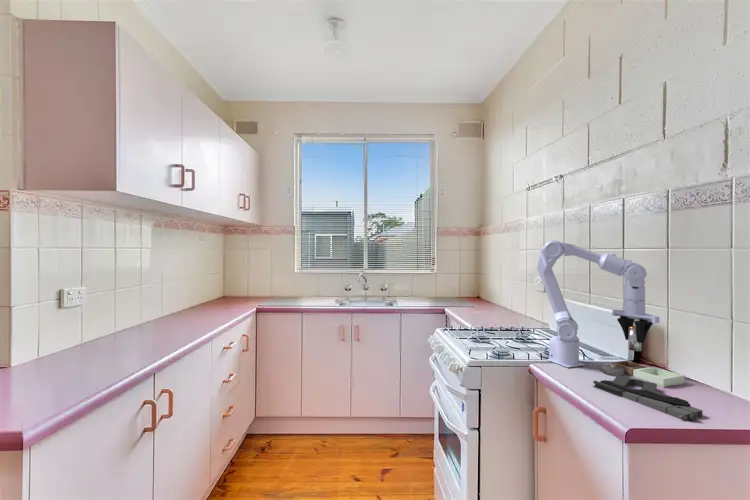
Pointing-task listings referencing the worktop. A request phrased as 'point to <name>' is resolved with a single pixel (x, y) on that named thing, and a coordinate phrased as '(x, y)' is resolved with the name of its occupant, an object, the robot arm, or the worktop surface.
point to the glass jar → (633, 339)
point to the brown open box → (621, 368)
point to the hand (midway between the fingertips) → (634, 341)
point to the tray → (659, 376)
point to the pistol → (649, 397)
